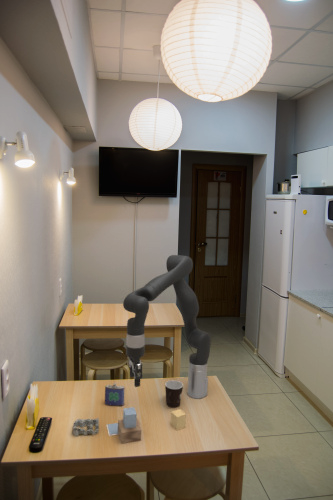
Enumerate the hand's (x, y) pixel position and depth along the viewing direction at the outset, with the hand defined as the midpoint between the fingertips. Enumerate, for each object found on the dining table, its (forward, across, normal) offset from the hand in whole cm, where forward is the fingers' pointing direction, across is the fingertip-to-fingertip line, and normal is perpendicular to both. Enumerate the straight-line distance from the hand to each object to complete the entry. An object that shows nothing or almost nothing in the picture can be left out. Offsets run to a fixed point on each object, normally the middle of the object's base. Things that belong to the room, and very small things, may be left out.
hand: (134, 381), depth 147 cm
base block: (+22, -3, +3) cm, 22 cm away
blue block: (+17, -3, +3) cm, 17 cm away
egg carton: (+22, +5, +19) cm, 30 cm away
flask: (+22, +22, +4) cm, 32 cm away
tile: (+22, +3, +7) cm, 23 cm away
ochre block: (+23, -1, -19) cm, 30 cm away
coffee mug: (+23, +15, -21) cm, 35 cm away
